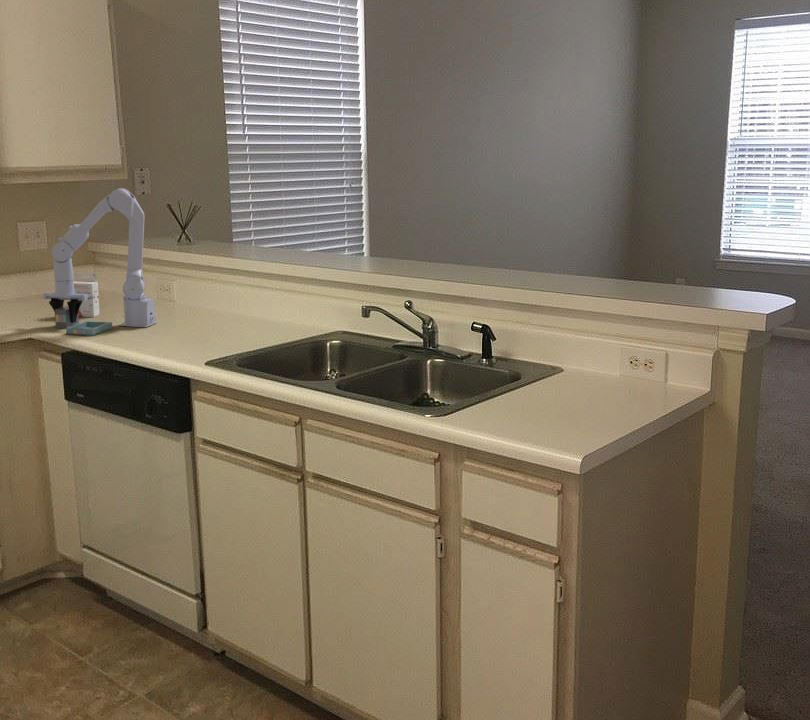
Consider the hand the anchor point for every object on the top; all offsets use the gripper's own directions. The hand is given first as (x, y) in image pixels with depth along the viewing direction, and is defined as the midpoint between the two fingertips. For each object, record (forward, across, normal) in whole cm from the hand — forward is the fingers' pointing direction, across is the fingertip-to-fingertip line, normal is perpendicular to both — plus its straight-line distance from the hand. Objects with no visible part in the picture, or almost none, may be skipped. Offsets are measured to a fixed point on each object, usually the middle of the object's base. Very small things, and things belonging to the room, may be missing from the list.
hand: (67, 321), depth 295 cm
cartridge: (+1, 0, 0) cm, 1 cm away
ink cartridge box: (+2, +4, -18) cm, 19 cm away
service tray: (+1, -11, +6) cm, 12 cm away
